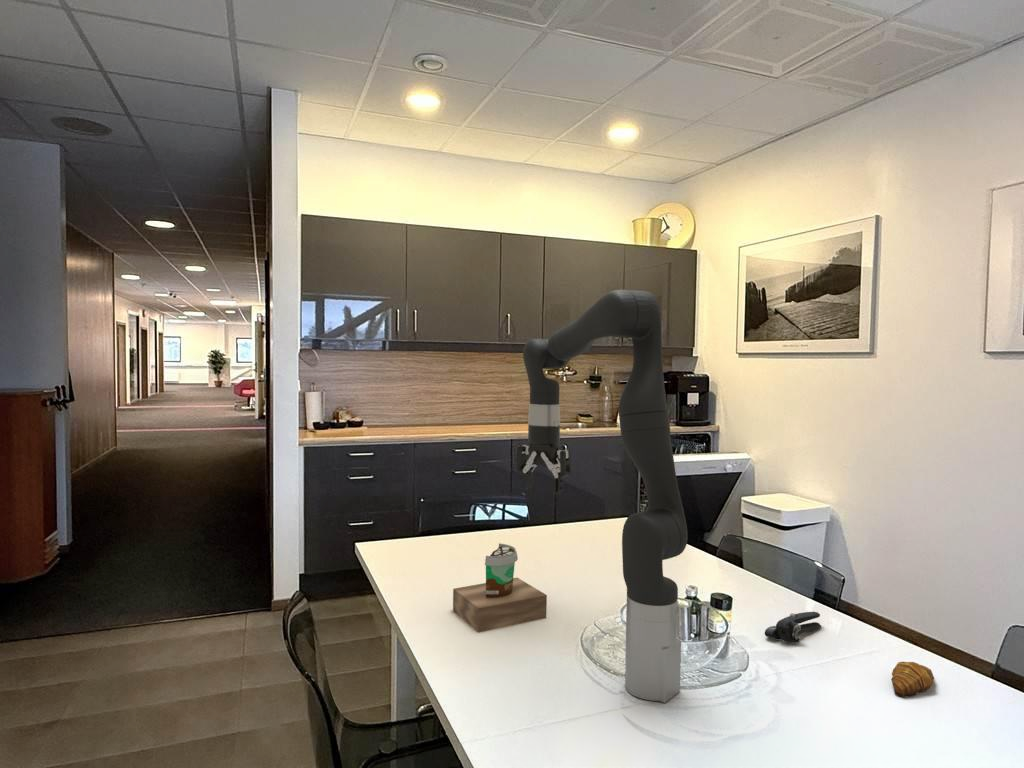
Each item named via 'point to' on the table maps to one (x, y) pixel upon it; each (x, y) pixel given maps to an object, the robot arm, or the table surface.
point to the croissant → (911, 679)
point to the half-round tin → (500, 571)
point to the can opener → (793, 627)
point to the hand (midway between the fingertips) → (543, 491)
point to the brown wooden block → (499, 606)
